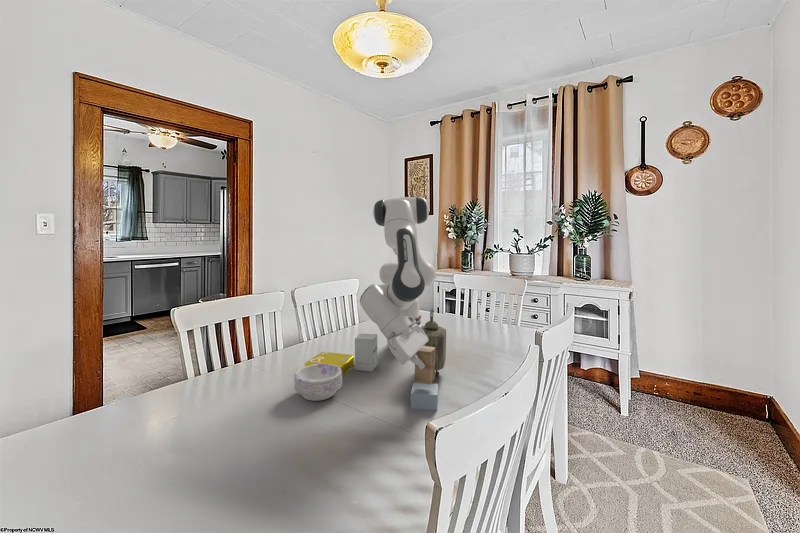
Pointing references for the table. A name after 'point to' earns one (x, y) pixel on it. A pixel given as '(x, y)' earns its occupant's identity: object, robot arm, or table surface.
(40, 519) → the table surface
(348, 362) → the element tile
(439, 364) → the tabletop clock
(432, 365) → the walnut pillar
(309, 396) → the paper bowls
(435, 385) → the slate block
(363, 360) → the supplement box
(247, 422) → the table surface
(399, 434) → the table surface
